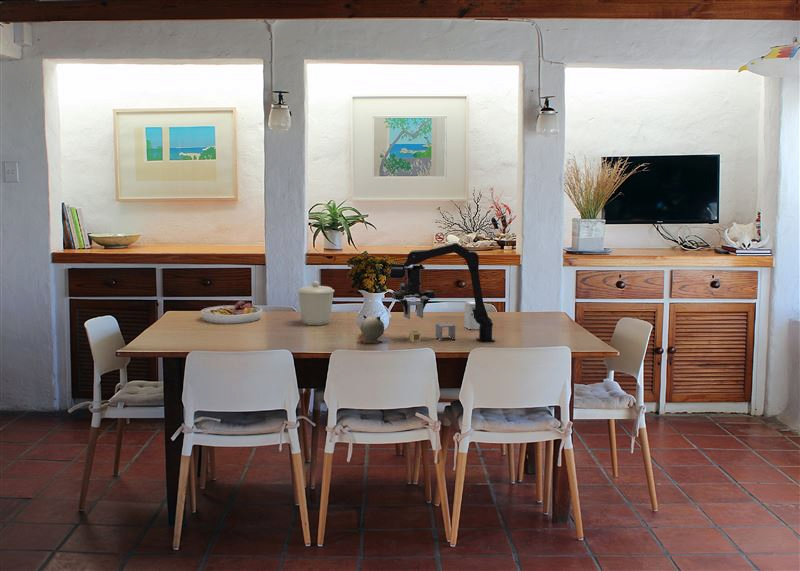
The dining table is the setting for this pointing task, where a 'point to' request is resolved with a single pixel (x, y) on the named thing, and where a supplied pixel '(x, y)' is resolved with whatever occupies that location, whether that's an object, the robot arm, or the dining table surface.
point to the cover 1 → (419, 309)
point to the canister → (315, 304)
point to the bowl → (232, 313)
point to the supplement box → (470, 316)
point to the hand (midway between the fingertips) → (413, 314)
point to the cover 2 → (450, 332)
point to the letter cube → (415, 336)
